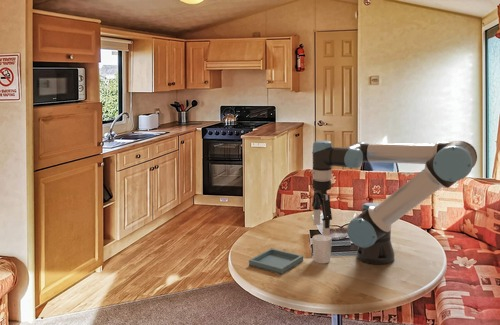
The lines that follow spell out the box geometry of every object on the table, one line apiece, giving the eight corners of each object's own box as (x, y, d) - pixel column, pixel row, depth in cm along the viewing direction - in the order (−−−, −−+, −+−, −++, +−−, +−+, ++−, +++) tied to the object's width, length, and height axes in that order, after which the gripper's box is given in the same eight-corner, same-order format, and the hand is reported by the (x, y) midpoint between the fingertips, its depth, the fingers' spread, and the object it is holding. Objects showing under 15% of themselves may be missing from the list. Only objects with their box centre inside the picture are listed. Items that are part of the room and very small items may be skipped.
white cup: (331, 264, 192) (331, 241, 191) (311, 263, 194) (311, 240, 192) (331, 257, 200) (332, 234, 198) (313, 256, 202) (313, 234, 200)
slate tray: (303, 261, 197) (303, 255, 196) (281, 274, 184) (281, 268, 184) (271, 253, 206) (271, 248, 206) (249, 265, 194) (248, 260, 193)
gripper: (305, 173, 202) (304, 221, 206) (321, 187, 178) (321, 240, 182) (322, 172, 203) (321, 220, 207) (340, 186, 179) (339, 239, 183)
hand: (321, 229), depth 195 cm, fingers open, 13 cm apart
